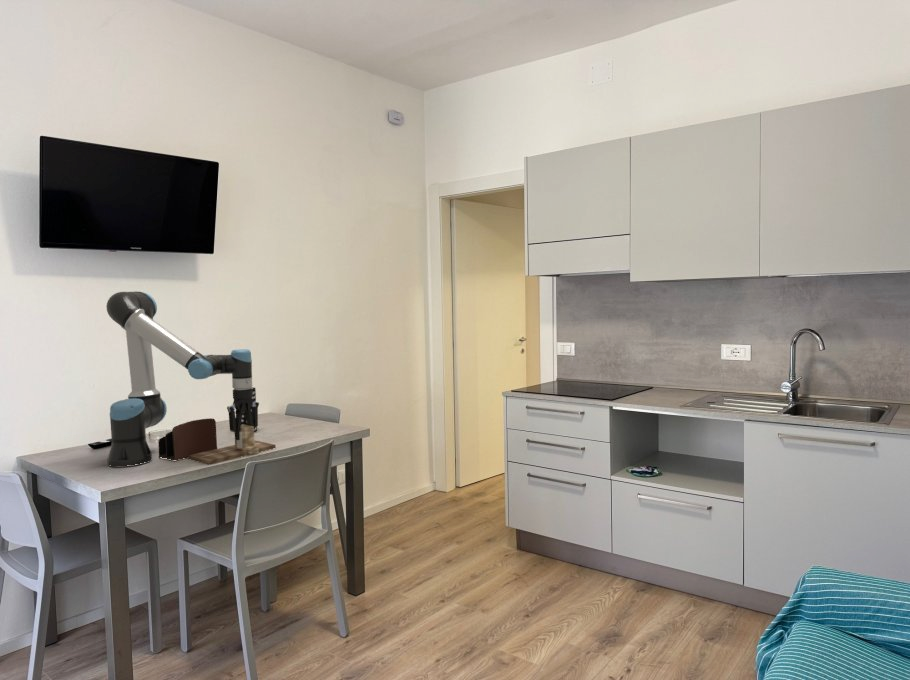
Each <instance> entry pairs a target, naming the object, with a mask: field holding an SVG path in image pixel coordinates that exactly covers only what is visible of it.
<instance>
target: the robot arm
mask: <svg viewBox="0 0 910 680" xmlns="http://www.w3.org/2000/svg"><path fill="white" fill-rule="evenodd" d="M105 307H106V312H107V315H108V316H109V318H110V319H112V321H114V323H116V324H118V325H119V326H120V327H121V329H123V330H124V331H125V337H126V345H127V346H126V347H127V355H128V366H129V376H130V387H131V392H130V393H128V395H127V398H125V399H121V400H118V401H116V402H113V403H112V404H111V405H110V407H109V419H110V434H111V445H110V449H109V452H108V456H107V459H106V460H107V466H108V465H111V466H127V465H135V464H140V463H144V462H148V461H150V460H151V459H152V460H153V454H152V451H151V449H150V446H149V445H148V441H147V434H146V429H148V428H151V427H154V426H156V425H159V423H160V422H162V421H163V420H164V419H165V417H166V414H167V404H166V402H165V400H164V399H163V398H162V397H161V391H160V390H159V389H157V388H156V379H155V370H154V357H153V349H152V348H153V347H152V346H154V347H155V348H156V349H158V350H159V351H161V352H162V353H164V354H165V355H167V356H168V357H169V358H170V359H172V360H174V361H175V362H176V363H178V365H181V366H182V367H183V368H185V369H186V370H187V371H188V373H189V375H190V377H191V378H193V379H194V380H205V379H207V378H210V377H212V376H215V375H231V379H232V380H231V381H232V383H231V385H232V398H233V403H232V404H231V405H229V406H227V407H226V409H227V411H228V412H227V413H228V421H229V423H228V424H229V431H230V432H231V431H234V432H233V433H234V441H235V440H237V448H243V447H242V432H240V428H241V421H242V415H243V412H244V413H245V416H246V421H247V425H249V426H253V427H254V429H255V427H257V428H258V425H259V417H258V416H259V413H258V412H259V405H260V402H257V401H256V402H253V400H252V397H253V389H252V388H251V387H253V365H252V364H253V363H252V362H253V361H252V360H253V359H252V353H251V350H250V349H247V348H246V349H244V348H241V349H232V350H231V352H230V354H206V355H203V354H202V353H200V352H199V351H198V350H196V349H195V348H194V347H192V346H191V345H189V344H188V343H186V342H185V341H184V340H183V339H181V338H179V337H178V336H176V335H175V334H174V333H172V332H171V331H170V330H168V329H166V328H165V327H164V326H163V325H161V324H160V323H159V322H157V321H155V320H154V317H155V315H156V314H157V310H158V306H157V302H156V300H155V299H154V298H153V297H152V295H150V294H148V293H147V292H144V291H118V292H116V293H114V294H112V295H111V296H110V297H109V298H108V300H107V302H106V306H105ZM251 406H252V415H251ZM152 460H151V461H152ZM151 461H150V462H151ZM148 463H149V462H148ZM111 466H110V467H111Z"/></svg>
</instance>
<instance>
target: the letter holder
mask: <svg viewBox="0 0 910 680" xmlns="http://www.w3.org/2000/svg"><path fill="white" fill-rule="evenodd" d="M216 424H217V421H216V419H215V418H213V417H212V418H202V419H196V420H191V421H186V422H183V423H181V424H178V425H175V426H174V427H173V428H172V430H171V431H169V432H167V433H166V434H165V435H164V436H162V437H160V438H159V439H158V458H159V457H162V458H167V459H171V460H178V459H182V460H184V459H183V458H185V459H188V458H187V457H188V455H193V454H197V453H201V452H206V451H210V450H214V449H218V439H217V425H216ZM171 460H170V461H171ZM178 461H179V460H178Z"/></svg>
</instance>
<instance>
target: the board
mask: <svg viewBox="0 0 910 680" xmlns="http://www.w3.org/2000/svg"><path fill="white" fill-rule="evenodd" d="M254 445H256V446H259V453H262V452H261V451H263V452H266V451H265V450H267V451H269V449H271V450H274V449H273V448H275V449H277V448H276V444H274V443H269V442H265V441H259V440H255V439H254ZM245 455H247V456H250V455H249V454H248V451H244V450H240V449H236V448H235V444H233V445H227V446H224V447H220V448H219V447H218V448H217V449H214V450H210V451H206V452H201V453H197V454H193V455H188V457H189V458H188V460H189V459H191V460H190V461H193V460H194V462H197V461H198V463H201V462H202V463H201V464H205V463H206V464H205V465H209V464H210V465H214V464H218V463H222V462H226V461H229V459H230V460H235V459H238V458H241V456H243V457H246V456H245ZM225 460H226V461H225ZM221 461H222V462H221ZM217 462H218V463H217ZM213 463H214V464H213Z"/></svg>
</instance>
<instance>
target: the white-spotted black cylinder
mask: <svg viewBox="0 0 910 680" xmlns="http://www.w3.org/2000/svg"><path fill="white" fill-rule="evenodd" d="M251 388H252V389H253V397H252V400H253V402H257V392H256V390H257V389H256V387H253V386H252V387H251ZM251 415H252V406H251ZM242 424H244V425H247V421H246V416H245V413H244V412H243V415H242V421H241V425H242ZM257 432H258V426H257V427H255V429H254V433H257Z"/></svg>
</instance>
